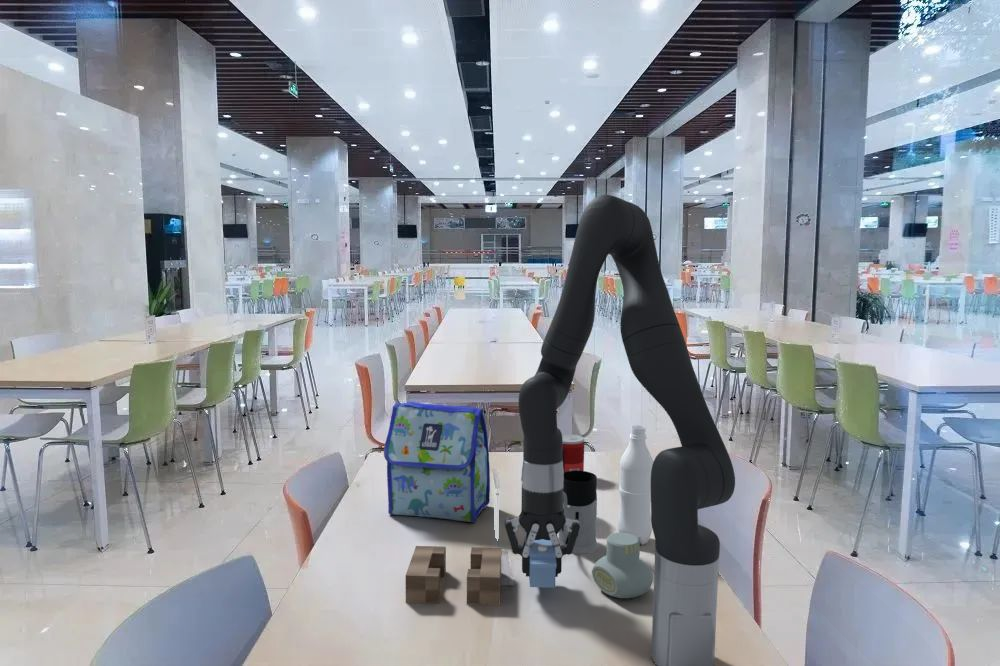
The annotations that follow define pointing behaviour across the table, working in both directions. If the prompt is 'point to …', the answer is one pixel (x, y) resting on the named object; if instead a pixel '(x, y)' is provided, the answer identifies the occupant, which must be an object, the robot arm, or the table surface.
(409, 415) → the lunch bag
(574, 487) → the glass holder
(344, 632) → the table surface
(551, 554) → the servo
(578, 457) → the canned food
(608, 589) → the air freshener
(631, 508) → the water bottle
